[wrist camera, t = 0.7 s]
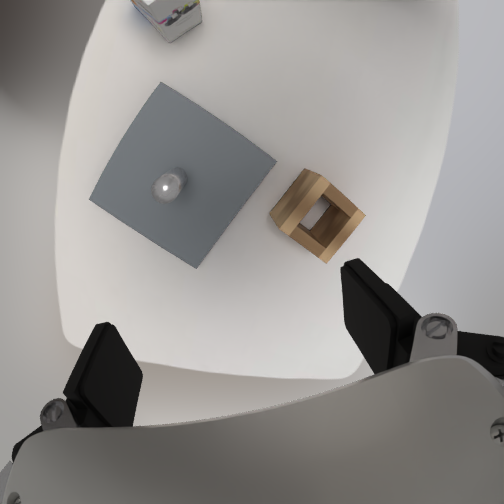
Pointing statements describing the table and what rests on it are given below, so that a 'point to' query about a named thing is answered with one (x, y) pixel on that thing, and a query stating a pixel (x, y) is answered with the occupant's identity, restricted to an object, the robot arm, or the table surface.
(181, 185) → the metal post
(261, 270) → the table surface
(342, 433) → the robot arm
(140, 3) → the ink box
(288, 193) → the oak frame
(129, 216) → the slate board
